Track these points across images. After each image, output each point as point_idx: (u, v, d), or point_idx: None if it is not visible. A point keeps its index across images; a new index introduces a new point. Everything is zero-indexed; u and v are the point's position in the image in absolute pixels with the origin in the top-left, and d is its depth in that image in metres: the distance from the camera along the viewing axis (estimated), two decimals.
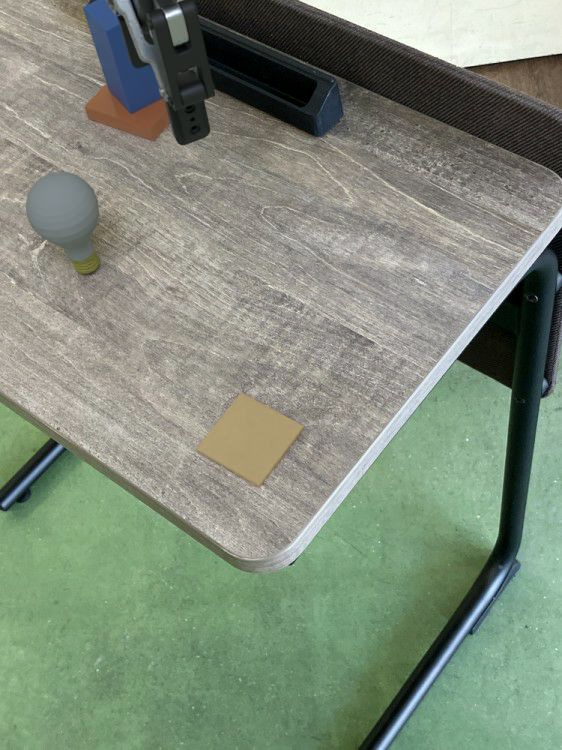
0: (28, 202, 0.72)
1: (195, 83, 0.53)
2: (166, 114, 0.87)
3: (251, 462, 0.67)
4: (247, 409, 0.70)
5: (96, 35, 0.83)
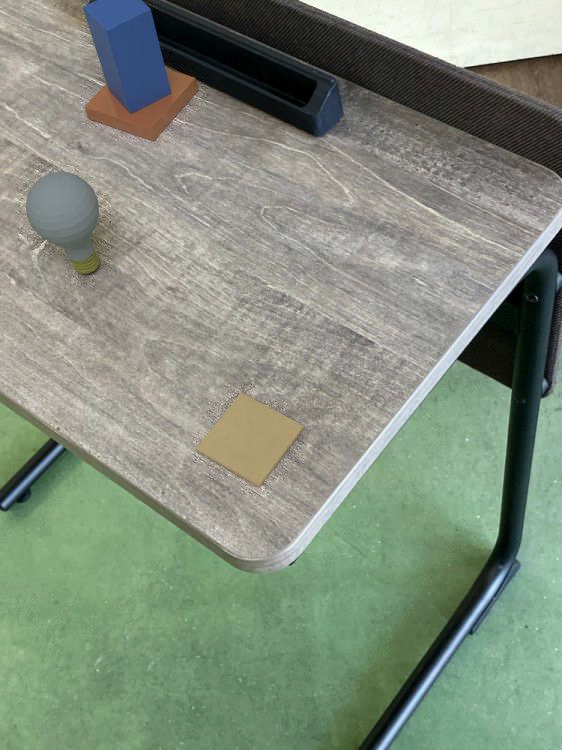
0: (28, 202, 0.72)
1: None
2: (166, 114, 0.87)
3: (251, 462, 0.67)
4: (247, 409, 0.70)
5: (96, 35, 0.83)
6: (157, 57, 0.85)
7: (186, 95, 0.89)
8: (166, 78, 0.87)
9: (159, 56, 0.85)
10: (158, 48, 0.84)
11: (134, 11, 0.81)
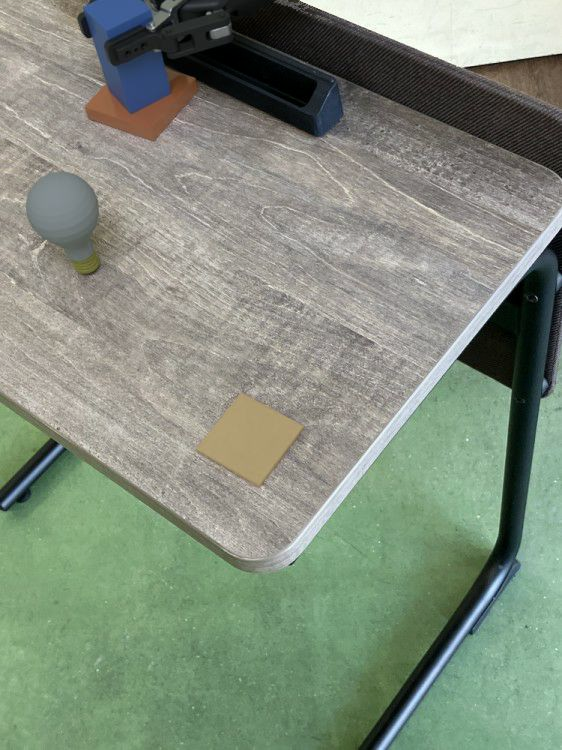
0: (28, 202, 0.72)
1: None
2: (166, 114, 0.87)
3: (251, 462, 0.67)
4: (247, 409, 0.70)
5: (96, 35, 0.83)
6: (157, 57, 0.85)
7: (186, 95, 0.89)
8: (166, 78, 0.87)
9: (159, 56, 0.85)
10: None
11: (134, 11, 0.81)
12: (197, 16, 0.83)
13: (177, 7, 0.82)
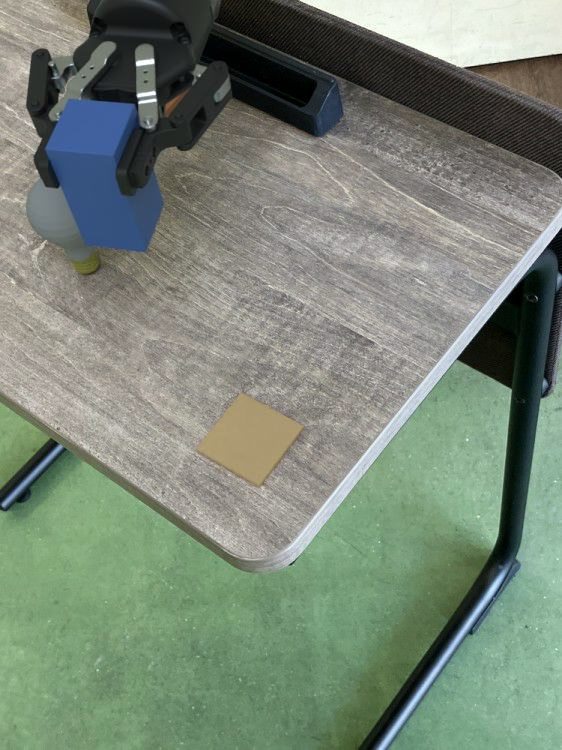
0: (28, 202, 0.72)
1: None
2: (166, 114, 0.87)
3: (251, 462, 0.67)
4: (247, 409, 0.70)
5: (77, 175, 0.58)
6: None
7: None
8: (158, 187, 0.64)
9: None
10: None
11: (118, 117, 0.58)
12: (171, 89, 0.62)
13: (156, 87, 0.60)
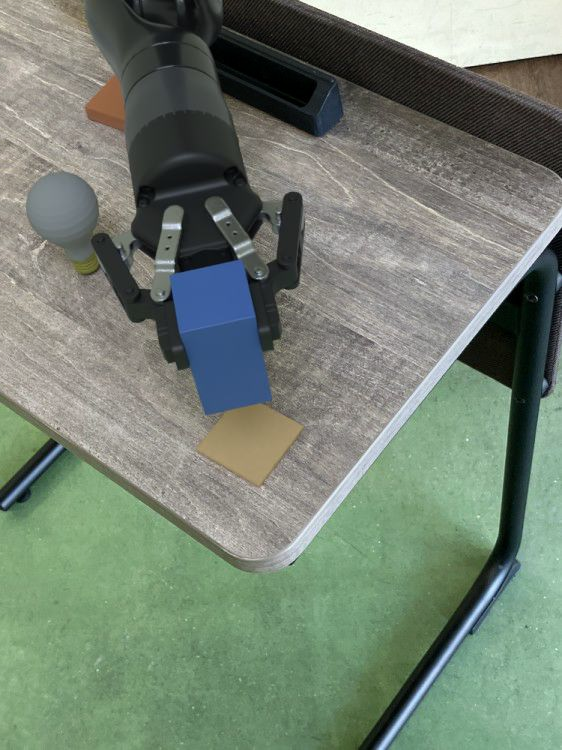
0: (28, 202, 0.72)
1: None
2: None
3: (251, 462, 0.67)
4: (247, 409, 0.70)
5: (211, 348, 0.55)
6: None
7: None
8: None
9: None
10: None
11: (234, 277, 0.55)
12: (248, 233, 0.60)
13: None
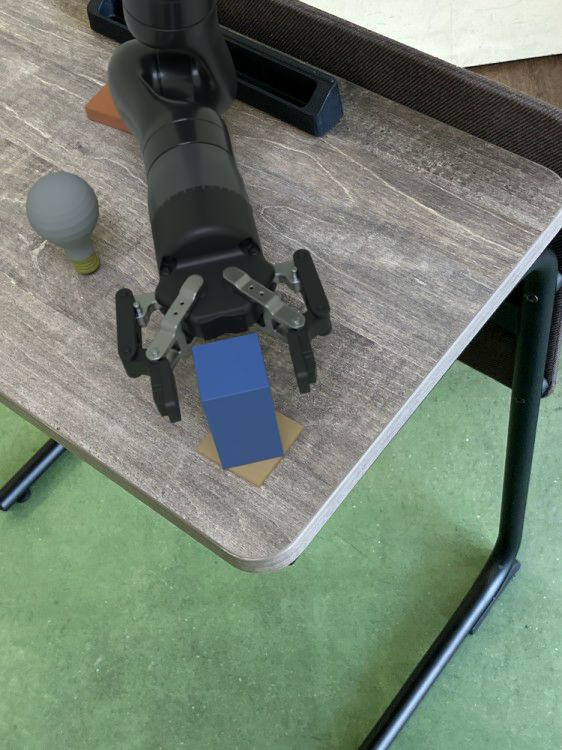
0: (28, 202, 0.72)
1: None
2: None
3: None
4: None
5: (229, 413, 0.61)
6: None
7: None
8: None
9: None
10: None
11: (250, 349, 0.61)
12: None
13: None
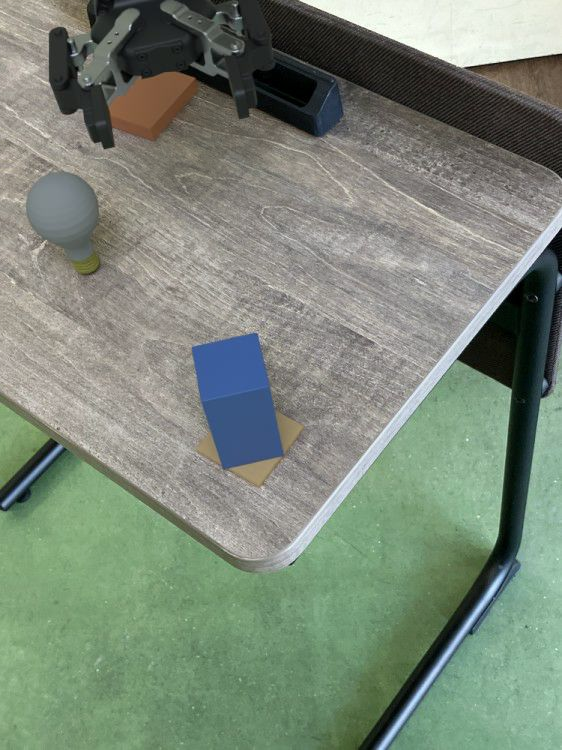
0: (28, 202, 0.72)
1: None
2: (166, 114, 0.87)
3: None
4: None
5: (229, 413, 0.61)
6: None
7: (186, 95, 0.89)
8: None
9: None
10: None
11: (250, 349, 0.61)
12: None
13: None
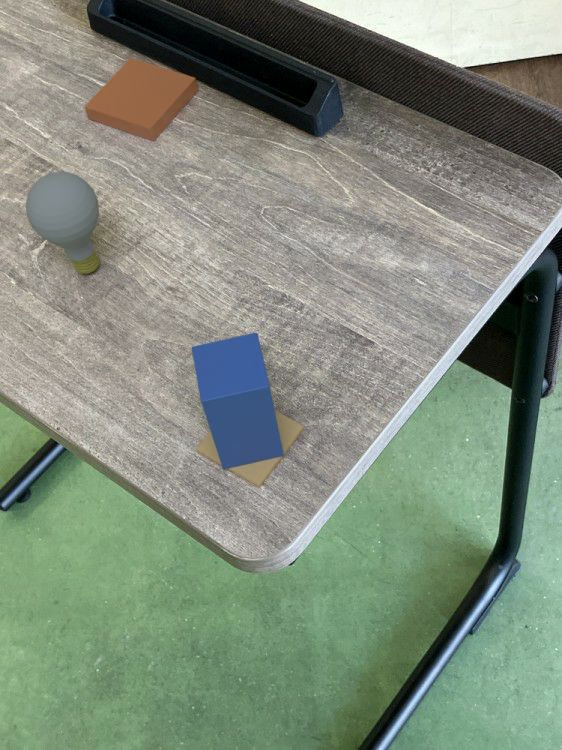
0: (28, 202, 0.72)
1: None
2: (166, 114, 0.87)
3: None
4: None
5: (229, 413, 0.61)
6: None
7: (186, 95, 0.89)
8: None
9: None
10: None
11: (250, 349, 0.61)
12: None
13: None
